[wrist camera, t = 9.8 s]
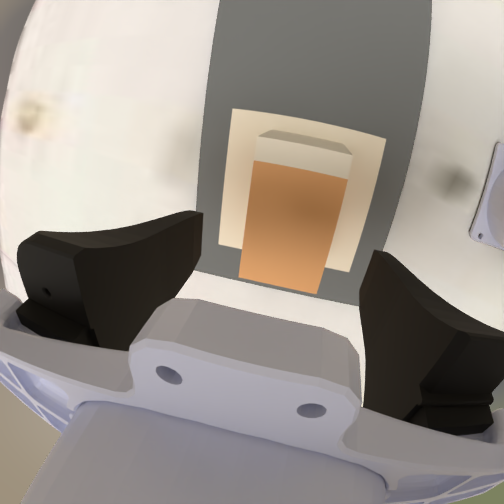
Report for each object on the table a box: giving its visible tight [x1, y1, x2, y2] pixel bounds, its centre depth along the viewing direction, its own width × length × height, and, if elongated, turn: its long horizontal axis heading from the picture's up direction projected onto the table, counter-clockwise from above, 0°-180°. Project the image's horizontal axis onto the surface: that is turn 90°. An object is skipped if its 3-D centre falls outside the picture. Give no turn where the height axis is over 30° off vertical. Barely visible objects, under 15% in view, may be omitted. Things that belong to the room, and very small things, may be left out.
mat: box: [194, 0, 432, 306], centre depth 16 cm, size 14×32×1 cm, turn 172°
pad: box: [218, 109, 386, 272], centre depth 19 cm, size 10×10×1 cm
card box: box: [239, 129, 353, 294], centre depth 17 cm, size 8×5×5 cm, turn 172°
